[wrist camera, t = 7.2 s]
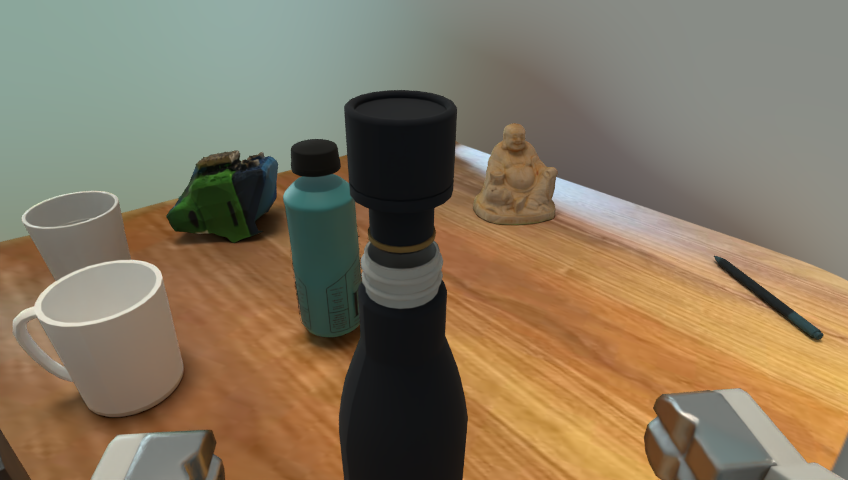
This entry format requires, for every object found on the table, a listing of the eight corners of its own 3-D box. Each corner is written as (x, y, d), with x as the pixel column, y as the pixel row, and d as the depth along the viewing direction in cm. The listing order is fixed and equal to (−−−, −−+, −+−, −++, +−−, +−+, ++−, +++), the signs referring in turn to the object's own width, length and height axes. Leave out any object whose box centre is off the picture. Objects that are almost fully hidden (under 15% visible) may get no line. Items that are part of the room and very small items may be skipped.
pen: (716, 259, 65) (719, 251, 65) (822, 340, 52) (827, 331, 51) (709, 260, 65) (711, 252, 64) (813, 342, 52) (818, 333, 51)
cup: (119, 278, 60) (86, 184, 54) (165, 298, 57) (135, 201, 50) (49, 316, 54) (3, 215, 48) (96, 341, 50) (53, 236, 44)
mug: (187, 338, 51) (161, 251, 46) (192, 402, 44) (163, 308, 39) (59, 370, 47) (15, 279, 42) (42, 446, 40) (-14, 348, 35)
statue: (538, 121, 80) (567, 121, 70) (538, 209, 83) (565, 221, 73) (463, 125, 78) (482, 125, 68) (465, 215, 81) (484, 228, 71)
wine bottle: (475, 582, 32) (535, 111, 17) (388, 652, 29) (365, 150, 13) (417, 502, 36) (423, 73, 21) (336, 555, 33) (274, 95, 18)
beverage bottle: (365, 349, 50) (353, 157, 40) (296, 352, 49) (267, 159, 39) (366, 307, 56) (356, 130, 45) (304, 310, 55) (280, 131, 45)
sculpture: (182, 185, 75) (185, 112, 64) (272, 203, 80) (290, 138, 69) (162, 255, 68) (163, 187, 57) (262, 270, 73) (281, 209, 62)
